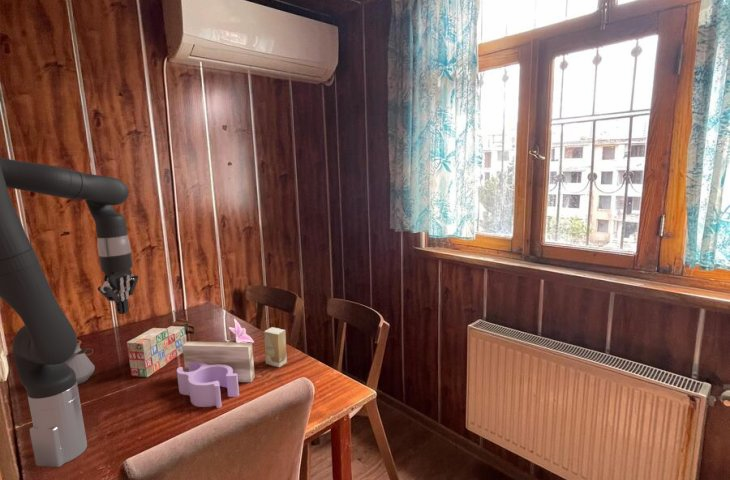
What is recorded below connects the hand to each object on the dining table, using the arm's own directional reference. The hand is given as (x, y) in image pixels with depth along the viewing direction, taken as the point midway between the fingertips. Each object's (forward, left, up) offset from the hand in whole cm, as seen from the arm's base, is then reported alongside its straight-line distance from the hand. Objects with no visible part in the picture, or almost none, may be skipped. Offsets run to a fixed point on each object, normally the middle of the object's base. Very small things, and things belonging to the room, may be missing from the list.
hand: (123, 312), depth 112 cm
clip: (+8, -18, -29) cm, 35 cm away
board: (+16, -18, -28) cm, 37 cm away
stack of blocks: (+26, +9, -28) cm, 40 cm away
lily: (+40, -15, -28) cm, 51 cm away
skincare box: (+27, -33, -28) cm, 52 cm away
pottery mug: (+48, +14, -28) cm, 58 cm away
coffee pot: (+9, +26, -28) cm, 40 cm away
